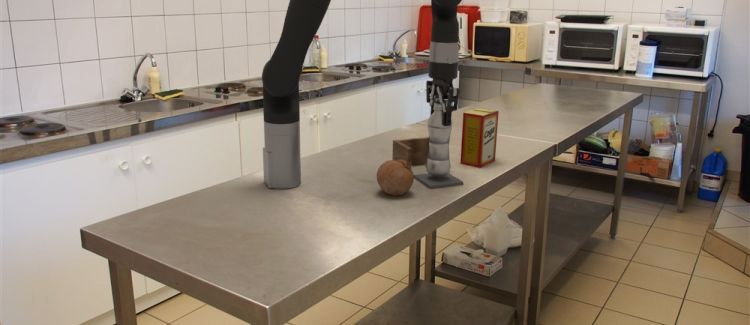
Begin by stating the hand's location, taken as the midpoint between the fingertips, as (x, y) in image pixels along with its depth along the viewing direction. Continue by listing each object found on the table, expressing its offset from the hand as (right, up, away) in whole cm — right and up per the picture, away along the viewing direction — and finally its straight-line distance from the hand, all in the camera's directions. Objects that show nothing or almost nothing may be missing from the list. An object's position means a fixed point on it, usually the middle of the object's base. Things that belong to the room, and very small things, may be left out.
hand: (440, 122), depth 164 cm
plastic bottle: (0, -14, +4) cm, 15 cm away
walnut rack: (-4, -13, +14) cm, 20 cm away
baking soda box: (+14, -11, +23) cm, 29 cm away
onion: (-12, -19, -5) cm, 23 cm away
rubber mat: (0, -16, +5) cm, 16 cm away
